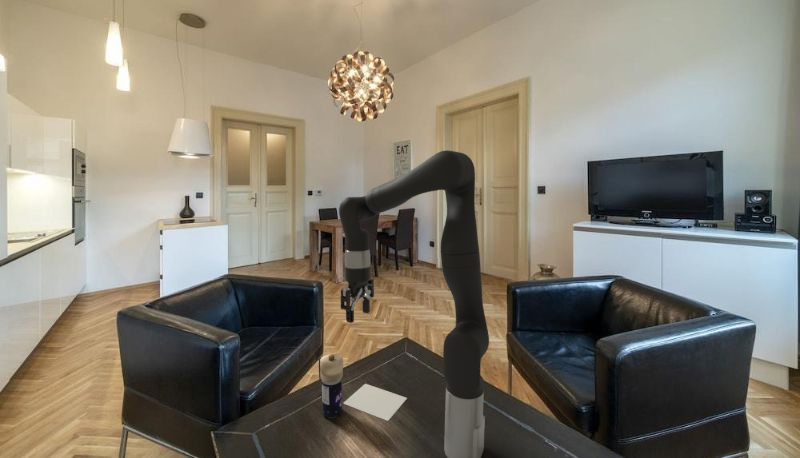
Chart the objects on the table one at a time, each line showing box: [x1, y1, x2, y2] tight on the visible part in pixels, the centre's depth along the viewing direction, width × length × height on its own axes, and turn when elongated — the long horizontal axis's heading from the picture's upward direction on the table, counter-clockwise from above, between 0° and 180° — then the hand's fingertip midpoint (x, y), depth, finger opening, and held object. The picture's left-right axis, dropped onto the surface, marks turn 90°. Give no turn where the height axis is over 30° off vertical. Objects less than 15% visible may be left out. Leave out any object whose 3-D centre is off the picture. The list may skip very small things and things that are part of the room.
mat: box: [342, 383, 408, 422], centre depth 104 cm, size 16×12×1 cm
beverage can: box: [321, 377, 343, 419], centre depth 98 cm, size 6×6×12 cm
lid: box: [319, 353, 344, 382], centre depth 97 cm, size 6×6×6 cm
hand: (358, 317), depth 101 cm, fingers open, 8 cm apart
